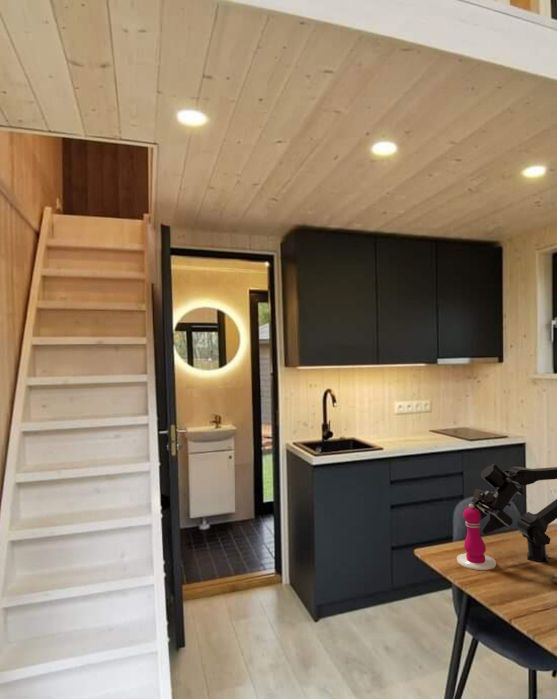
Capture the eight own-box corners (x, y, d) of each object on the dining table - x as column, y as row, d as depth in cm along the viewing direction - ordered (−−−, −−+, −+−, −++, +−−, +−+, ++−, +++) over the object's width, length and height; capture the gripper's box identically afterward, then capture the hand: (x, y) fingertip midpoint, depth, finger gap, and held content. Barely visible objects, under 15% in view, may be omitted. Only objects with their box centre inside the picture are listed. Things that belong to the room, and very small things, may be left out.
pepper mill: (470, 564, 152) (465, 507, 154) (461, 556, 159) (457, 501, 161) (490, 563, 152) (485, 506, 154) (481, 555, 159) (476, 500, 161)
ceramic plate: (460, 552, 164) (460, 550, 164) (497, 558, 158) (497, 556, 158) (454, 566, 153) (453, 563, 153) (494, 572, 147) (494, 570, 147)
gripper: (473, 476, 167) (448, 506, 166) (500, 487, 149) (473, 522, 147) (495, 495, 167) (470, 526, 166) (525, 508, 149) (497, 544, 147)
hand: (476, 528), depth 156 cm, fingers open, 9 cm apart
